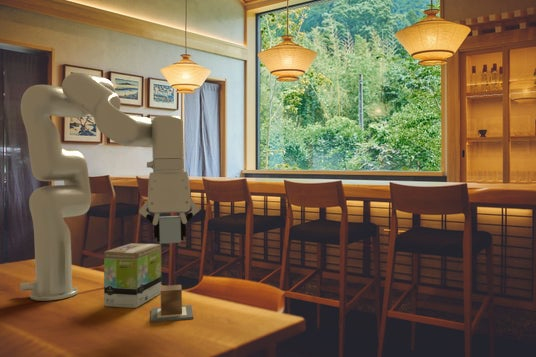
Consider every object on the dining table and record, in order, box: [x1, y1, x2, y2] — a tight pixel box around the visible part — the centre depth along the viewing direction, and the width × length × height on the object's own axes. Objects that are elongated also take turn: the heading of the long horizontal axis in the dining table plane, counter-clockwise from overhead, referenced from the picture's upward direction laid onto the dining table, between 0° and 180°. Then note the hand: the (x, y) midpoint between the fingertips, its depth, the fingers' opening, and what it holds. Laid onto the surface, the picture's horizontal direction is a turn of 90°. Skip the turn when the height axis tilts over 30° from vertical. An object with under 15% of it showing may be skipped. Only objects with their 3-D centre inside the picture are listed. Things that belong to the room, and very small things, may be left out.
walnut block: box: [160, 284, 183, 316], centre depth 119 cm, size 5×5×6 cm
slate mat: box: [149, 304, 194, 323], centre depth 119 cm, size 10×10×1 cm
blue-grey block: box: [158, 215, 182, 245], centre depth 118 cm, size 5×5×6 cm
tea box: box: [103, 242, 162, 309], centre depth 132 cm, size 15×10×15 cm, turn 168°
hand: (170, 239), depth 118 cm, fingers closed on blue-grey block, 5 cm apart
